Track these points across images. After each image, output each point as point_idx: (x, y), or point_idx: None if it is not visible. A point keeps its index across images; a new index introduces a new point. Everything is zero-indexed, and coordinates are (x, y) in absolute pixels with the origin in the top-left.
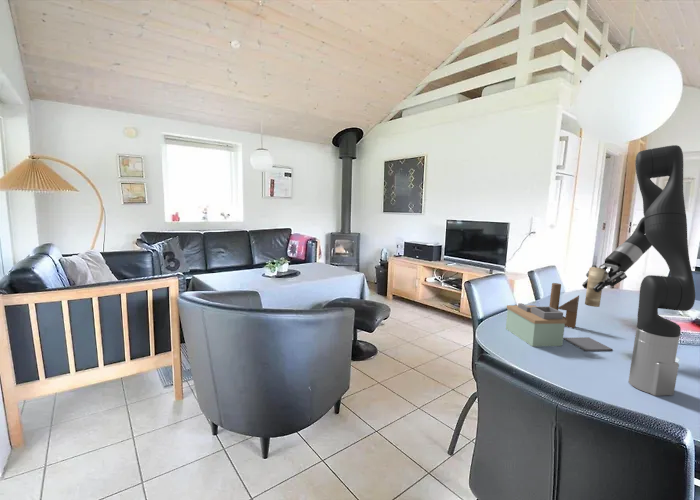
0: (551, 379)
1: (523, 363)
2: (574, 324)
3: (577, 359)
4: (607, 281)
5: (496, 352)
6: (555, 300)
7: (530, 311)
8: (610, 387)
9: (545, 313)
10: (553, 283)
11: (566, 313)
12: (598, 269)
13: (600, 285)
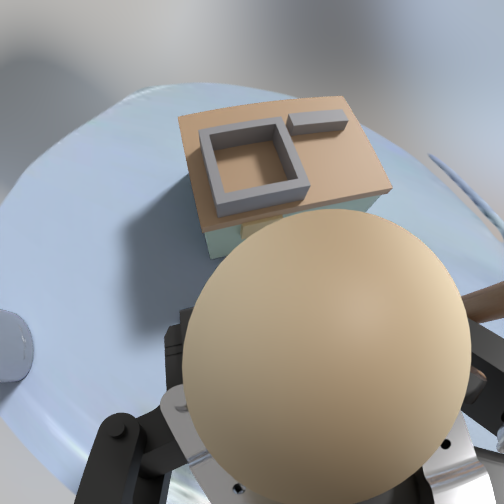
0: (36, 163)
1: (95, 131)
2: None
3: (117, 260)
4: (121, 414)
5: (146, 95)
6: (481, 300)
7: (291, 135)
8: (5, 261)
9: (199, 135)
10: None
11: None
12: (216, 336)
13: (174, 361)
